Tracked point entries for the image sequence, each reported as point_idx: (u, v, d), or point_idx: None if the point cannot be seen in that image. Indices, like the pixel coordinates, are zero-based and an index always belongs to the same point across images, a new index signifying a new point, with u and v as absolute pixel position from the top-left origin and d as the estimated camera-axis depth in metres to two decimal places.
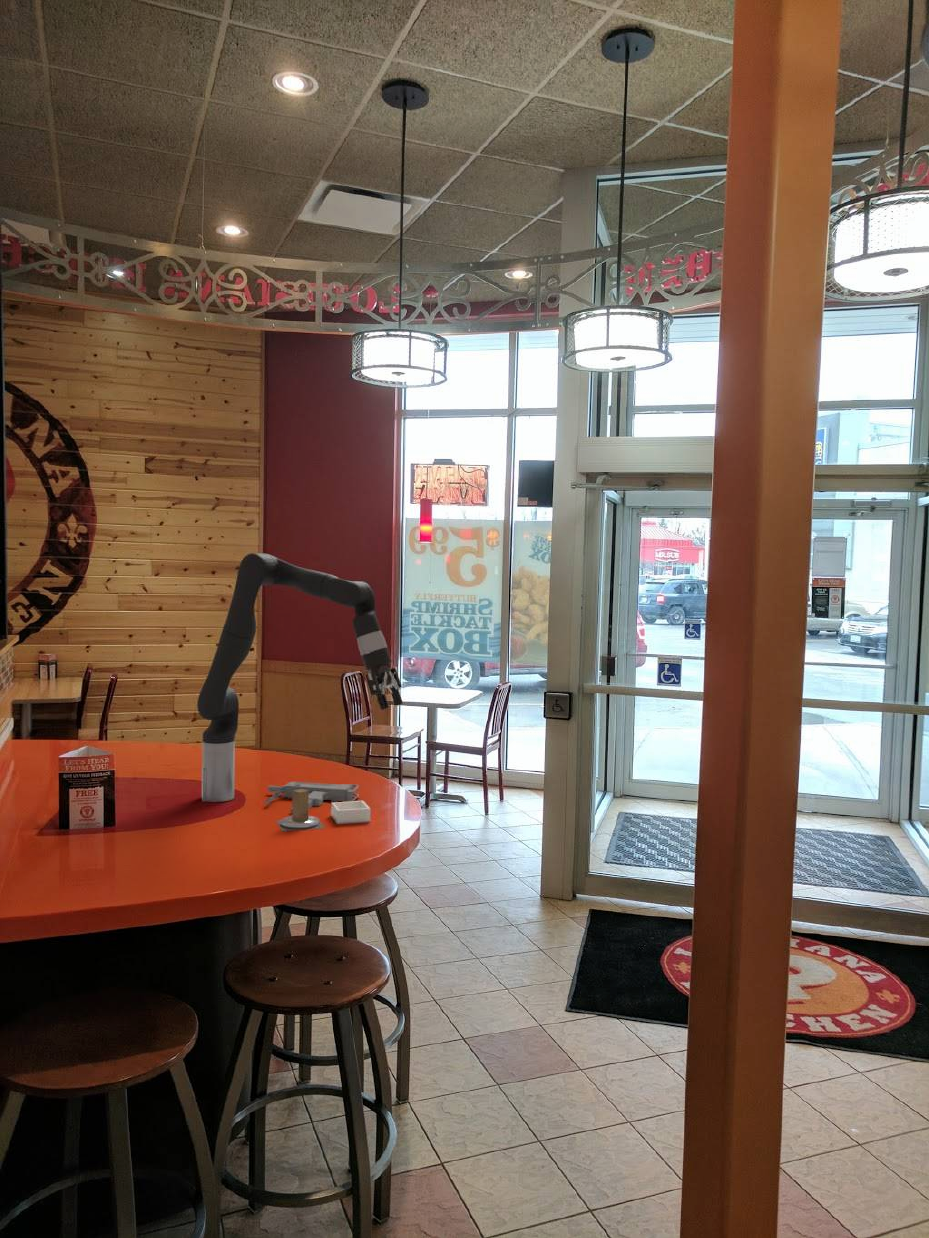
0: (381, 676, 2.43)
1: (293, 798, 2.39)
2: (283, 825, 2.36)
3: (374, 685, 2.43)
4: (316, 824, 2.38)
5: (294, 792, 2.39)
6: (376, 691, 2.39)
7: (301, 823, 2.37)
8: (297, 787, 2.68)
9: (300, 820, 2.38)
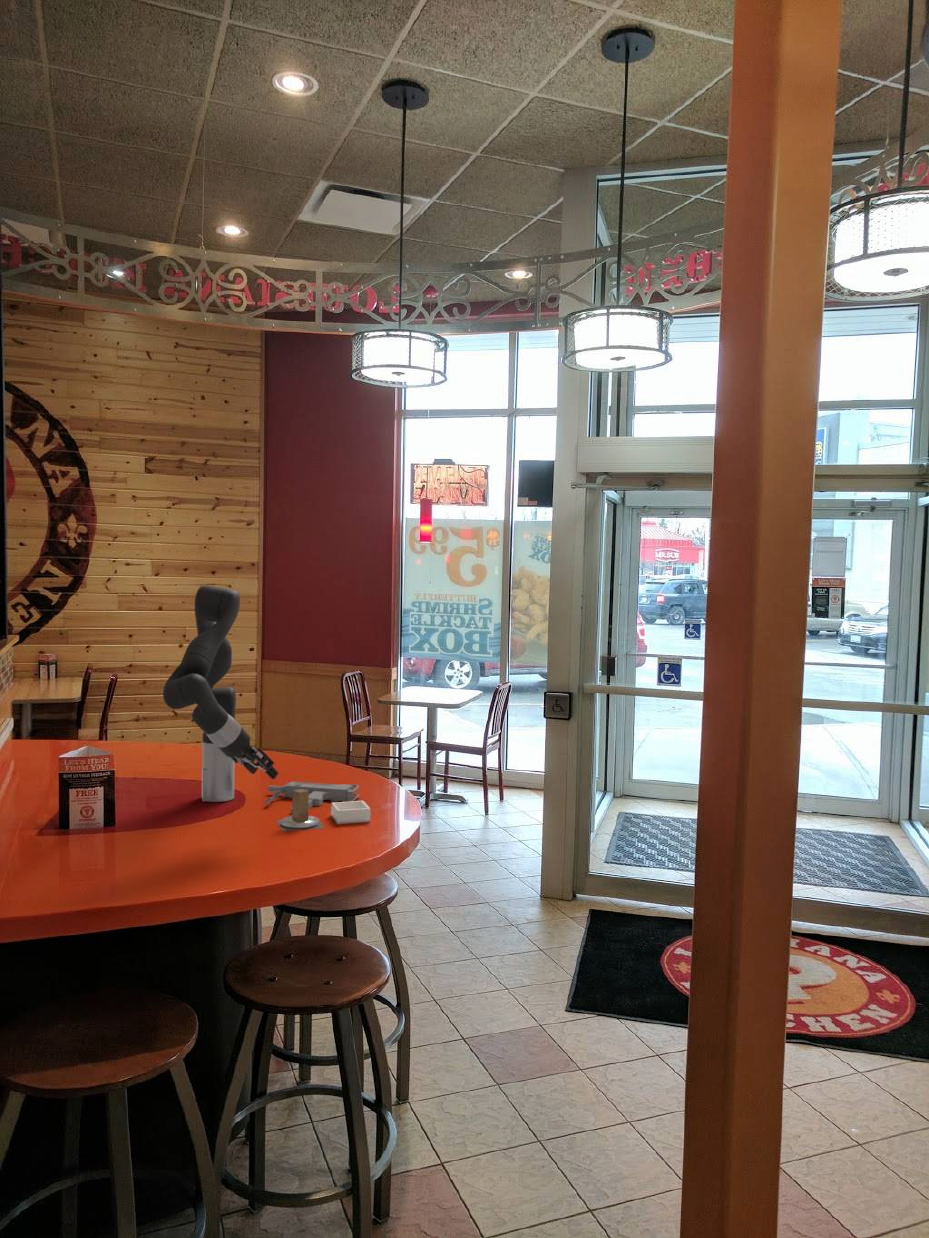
0: None
1: (293, 798, 2.39)
2: (283, 825, 2.36)
3: None
4: (316, 824, 2.38)
5: (294, 792, 2.39)
6: None
7: (301, 823, 2.37)
8: (297, 787, 2.68)
9: (300, 820, 2.38)
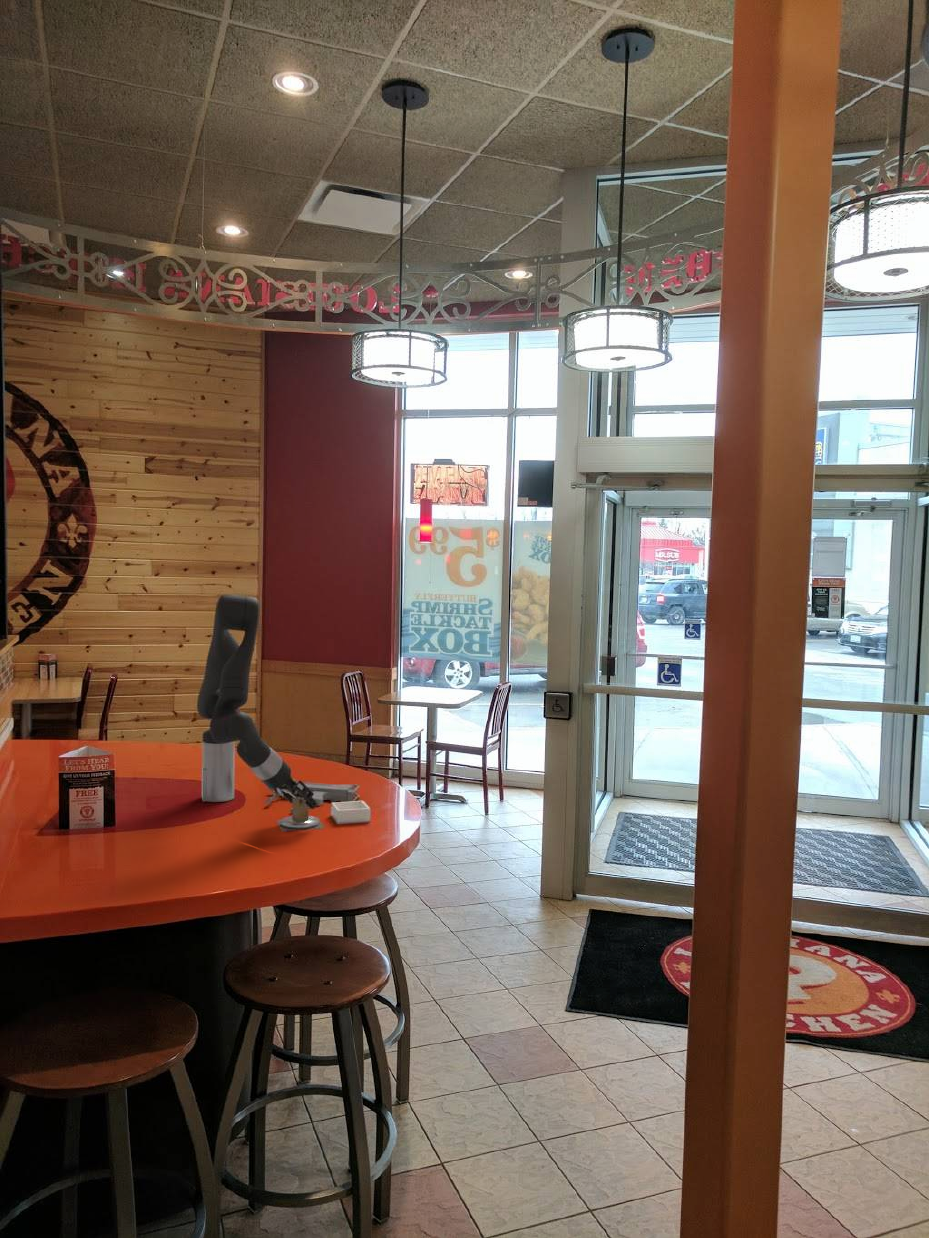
0: None
1: (293, 798, 2.39)
2: (283, 825, 2.37)
3: None
4: (316, 824, 2.38)
5: None
6: None
7: (301, 823, 2.37)
8: None
9: (300, 820, 2.38)
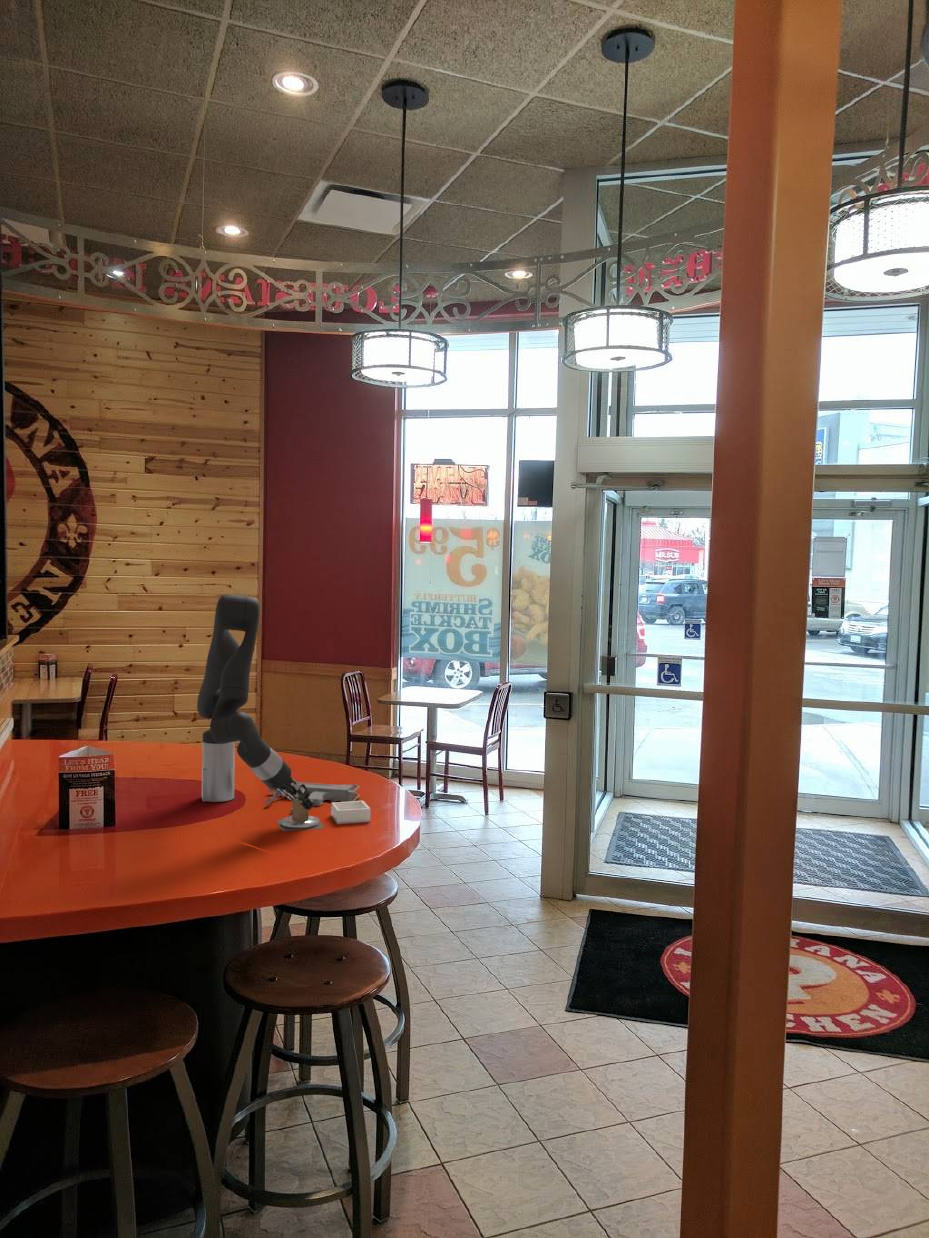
0: None
1: (293, 798, 2.39)
2: (283, 825, 2.36)
3: None
4: (316, 824, 2.38)
5: None
6: None
7: (301, 823, 2.37)
8: None
9: (300, 820, 2.38)
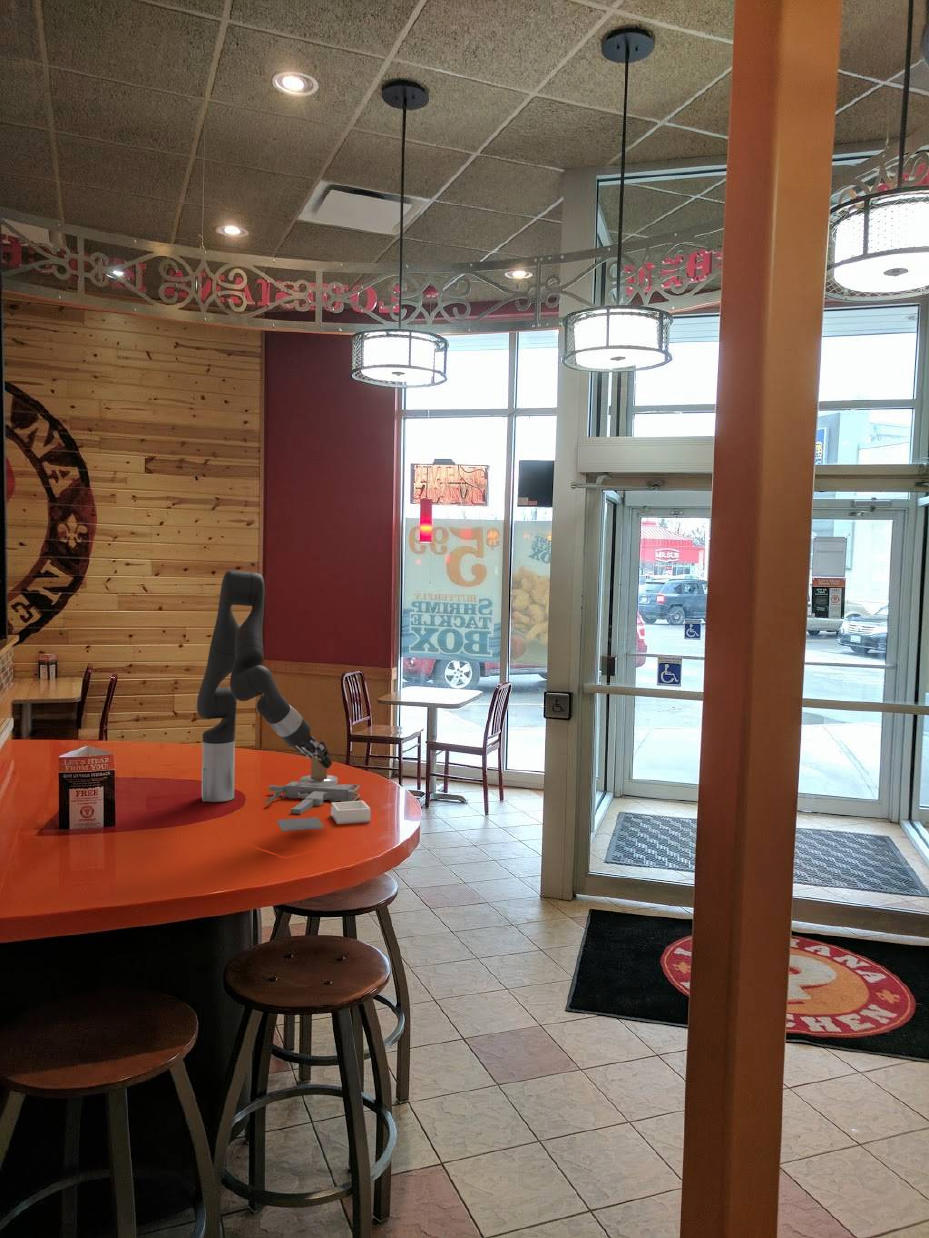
0: None
1: (312, 756, 2.40)
2: (302, 783, 2.38)
3: None
4: (334, 782, 2.39)
5: None
6: None
7: (320, 781, 2.38)
8: (298, 787, 2.68)
9: (319, 778, 2.39)
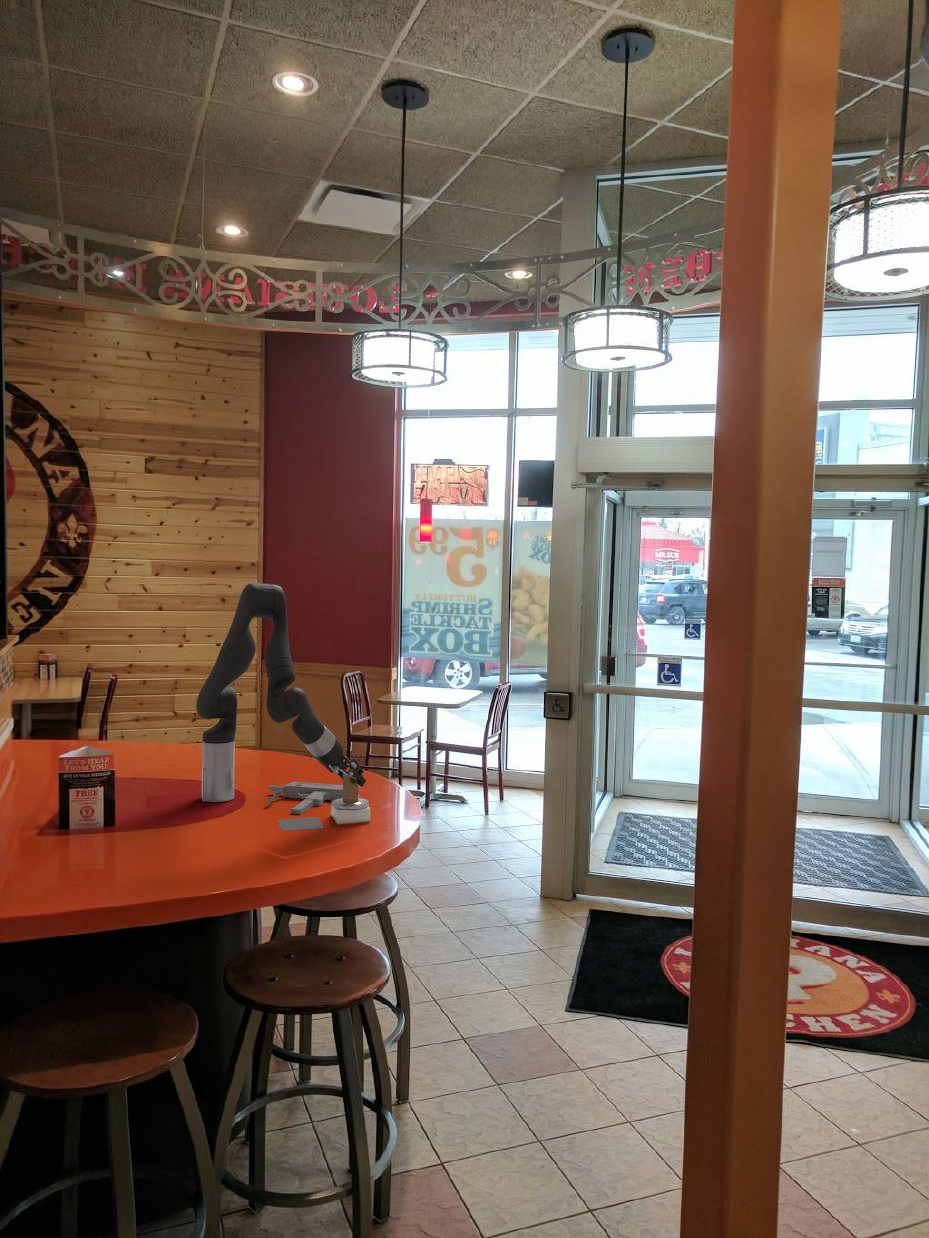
0: None
1: (344, 780, 2.45)
2: (334, 806, 2.43)
3: None
4: (366, 805, 2.44)
5: (344, 774, 2.45)
6: None
7: (352, 804, 2.43)
8: (298, 787, 2.68)
9: (350, 802, 2.44)
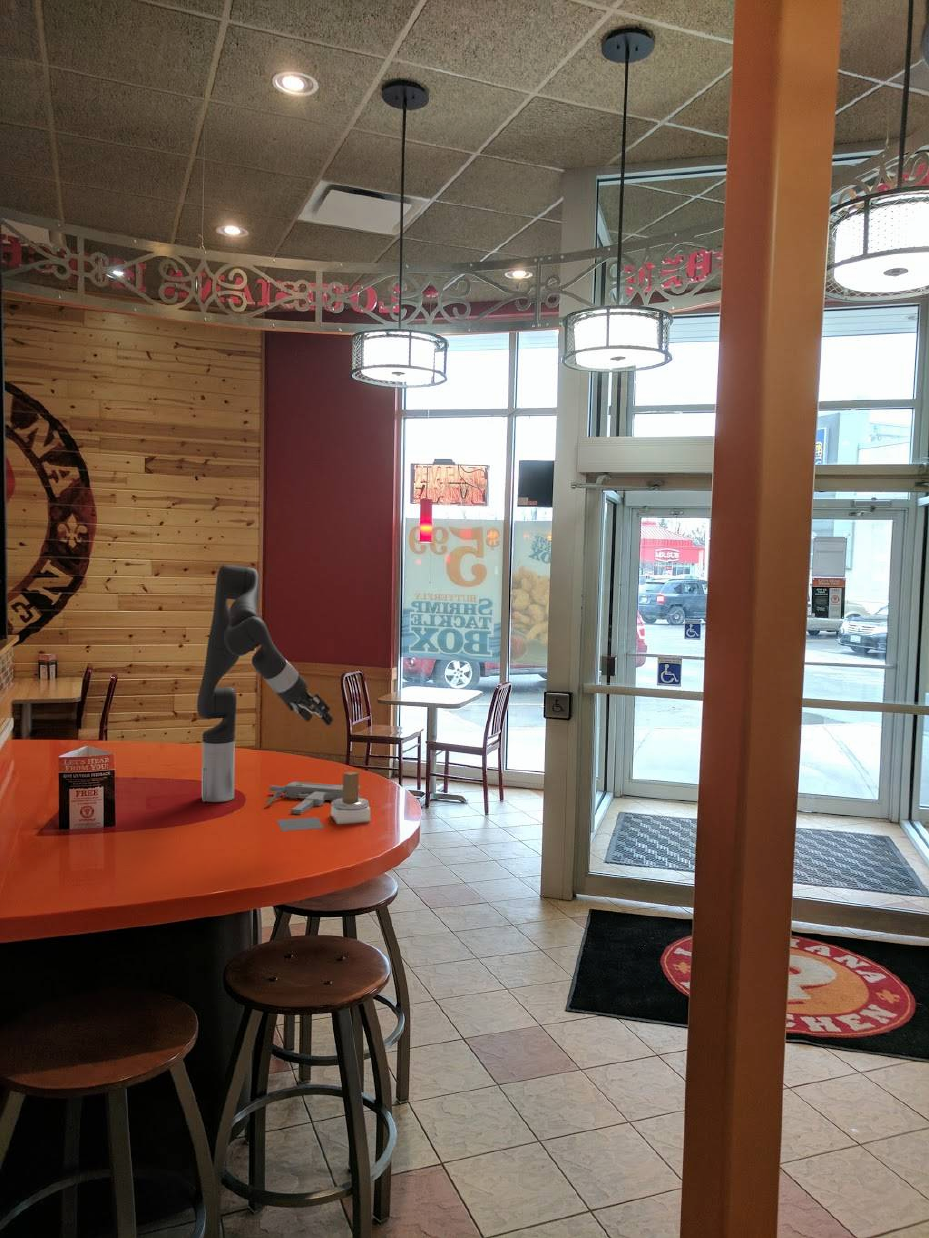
0: None
1: (344, 780, 2.45)
2: (334, 806, 2.43)
3: None
4: (366, 805, 2.44)
5: (344, 774, 2.45)
6: None
7: (352, 804, 2.43)
8: (299, 787, 2.68)
9: (350, 802, 2.44)
